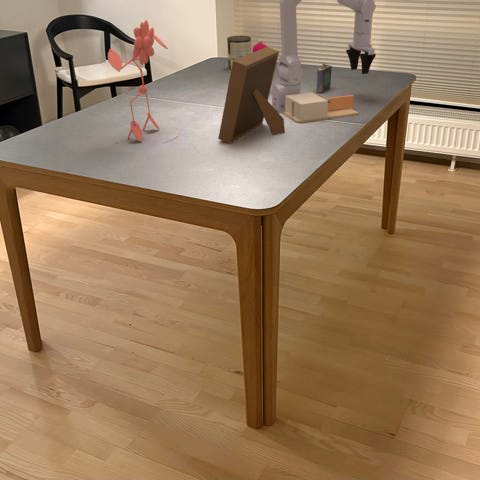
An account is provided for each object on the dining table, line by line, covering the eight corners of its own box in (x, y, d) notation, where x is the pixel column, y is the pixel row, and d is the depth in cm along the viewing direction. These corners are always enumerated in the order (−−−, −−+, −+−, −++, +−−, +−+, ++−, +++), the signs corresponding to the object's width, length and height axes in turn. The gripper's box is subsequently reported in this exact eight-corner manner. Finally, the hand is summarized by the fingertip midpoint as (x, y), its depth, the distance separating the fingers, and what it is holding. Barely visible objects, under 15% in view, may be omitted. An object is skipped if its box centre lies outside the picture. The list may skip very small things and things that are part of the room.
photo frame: (218, 141, 189) (215, 58, 177) (251, 122, 206) (250, 45, 194) (261, 149, 183) (261, 63, 171) (291, 128, 199) (293, 49, 187)
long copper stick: (301, 114, 209) (301, 102, 207) (299, 113, 210) (300, 101, 208) (353, 107, 215) (353, 95, 213) (351, 106, 216) (351, 94, 214)
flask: (321, 93, 235) (322, 65, 230) (314, 92, 236) (315, 64, 231) (331, 88, 242) (333, 60, 237) (325, 87, 243) (326, 59, 238)
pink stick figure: (110, 147, 187) (97, 27, 170) (153, 122, 208) (146, 13, 191) (154, 154, 182) (145, 30, 165) (194, 128, 203) (189, 16, 186)
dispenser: (297, 123, 204) (298, 104, 201) (282, 113, 213) (282, 95, 210) (358, 114, 211) (359, 96, 208) (341, 105, 220) (341, 88, 218)
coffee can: (223, 70, 272) (222, 37, 266) (241, 67, 278) (240, 34, 272) (238, 74, 265) (237, 40, 259) (256, 70, 271) (255, 37, 265)
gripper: (383, 34, 211) (380, 74, 218) (361, 28, 223) (358, 66, 230) (365, 36, 209) (362, 76, 216) (344, 30, 221) (342, 68, 228)
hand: (359, 71), depth 223 cm, fingers open, 7 cm apart
